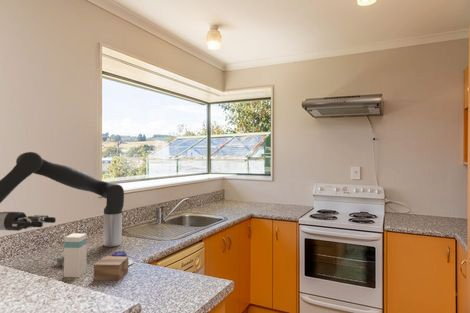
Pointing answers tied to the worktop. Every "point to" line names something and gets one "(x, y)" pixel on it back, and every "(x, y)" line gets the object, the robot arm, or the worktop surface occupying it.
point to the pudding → (122, 254)
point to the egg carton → (60, 261)
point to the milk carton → (75, 255)
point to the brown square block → (110, 268)
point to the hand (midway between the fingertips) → (48, 222)
